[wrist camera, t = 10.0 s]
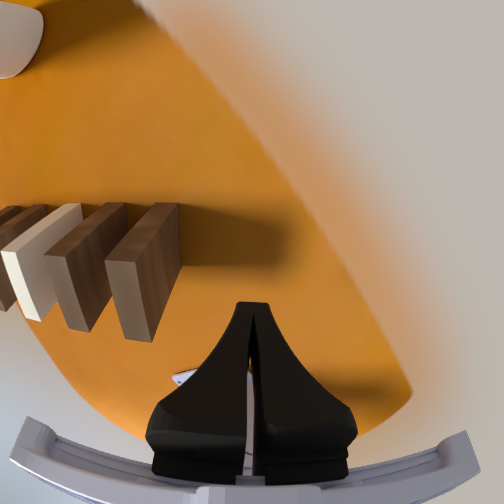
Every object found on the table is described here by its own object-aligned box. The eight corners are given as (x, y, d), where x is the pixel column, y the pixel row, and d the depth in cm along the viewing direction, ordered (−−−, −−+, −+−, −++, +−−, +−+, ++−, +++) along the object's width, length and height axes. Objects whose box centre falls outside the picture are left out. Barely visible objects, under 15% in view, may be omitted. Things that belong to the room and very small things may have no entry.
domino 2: (125, 202, 19) (64, 256, 12) (133, 263, 21) (89, 332, 14) (106, 202, 19) (43, 255, 12) (115, 261, 21) (68, 328, 14)
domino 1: (177, 202, 19) (135, 262, 12) (181, 266, 21) (151, 342, 14) (155, 202, 19) (104, 260, 12) (161, 265, 21) (125, 338, 14)
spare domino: (80, 203, 19) (15, 252, 12) (91, 260, 21) (41, 321, 14) (65, 203, 19) (0, 250, 11) (76, 258, 21) (25, 317, 14)
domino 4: (45, 204, 18) (-19, 249, 11) (57, 257, 21) (6, 311, 14) (33, 204, 18) (-29, 248, 11) (45, 256, 21) (-6, 308, 14)
